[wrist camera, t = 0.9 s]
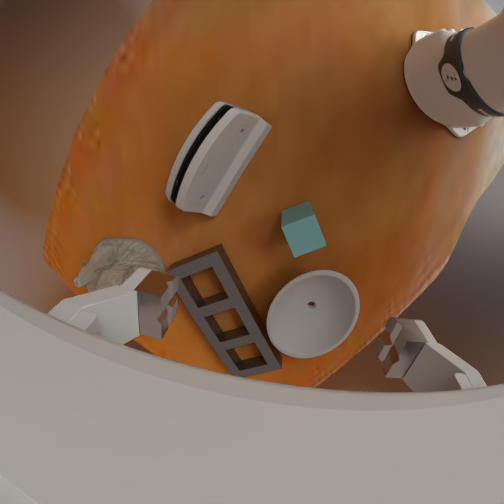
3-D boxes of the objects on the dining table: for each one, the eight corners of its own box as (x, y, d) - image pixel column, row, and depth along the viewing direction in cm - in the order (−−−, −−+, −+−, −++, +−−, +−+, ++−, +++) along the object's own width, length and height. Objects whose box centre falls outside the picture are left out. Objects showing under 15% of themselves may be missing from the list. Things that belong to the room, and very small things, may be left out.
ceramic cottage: (92, 232, 46) (44, 271, 33) (170, 241, 46) (133, 291, 32) (105, 299, 53) (70, 345, 40) (174, 313, 53) (149, 369, 39)
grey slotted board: (221, 243, 44) (217, 250, 42) (281, 357, 52) (281, 368, 50) (171, 264, 47) (164, 272, 44) (237, 368, 55) (234, 378, 52)
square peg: (309, 200, 40) (314, 214, 33) (319, 226, 42) (326, 245, 34) (281, 211, 41) (281, 227, 34) (292, 236, 43) (294, 257, 35)
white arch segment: (215, 217, 43) (175, 224, 34) (194, 200, 44) (152, 203, 35) (273, 124, 36) (245, 104, 27) (248, 110, 37) (214, 88, 28)
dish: (289, 244, 43) (290, 257, 39) (369, 271, 43) (377, 285, 39) (255, 328, 50) (253, 346, 46) (326, 348, 50) (329, 365, 46)
